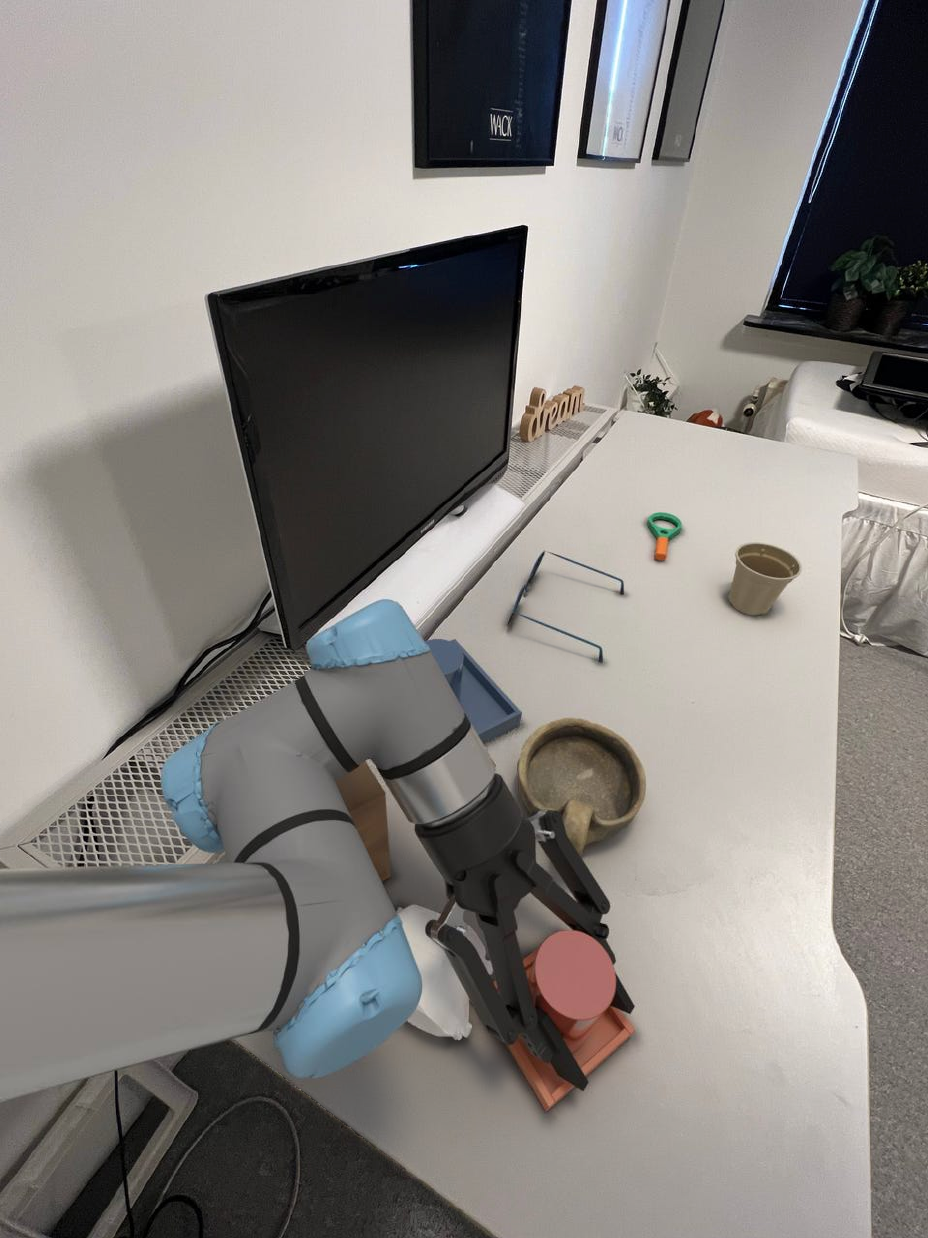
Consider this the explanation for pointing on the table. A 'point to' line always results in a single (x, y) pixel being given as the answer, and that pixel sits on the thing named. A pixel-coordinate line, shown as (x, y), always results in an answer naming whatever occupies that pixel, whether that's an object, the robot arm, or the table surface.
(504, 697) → the blue tray
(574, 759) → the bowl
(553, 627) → the sunglasses
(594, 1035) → the red tray
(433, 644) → the slate blue cylinder
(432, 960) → the white turtle figurine
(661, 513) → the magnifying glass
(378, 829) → the brown wooden block
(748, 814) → the table surface
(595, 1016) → the red cylinder
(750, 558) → the flower pot
